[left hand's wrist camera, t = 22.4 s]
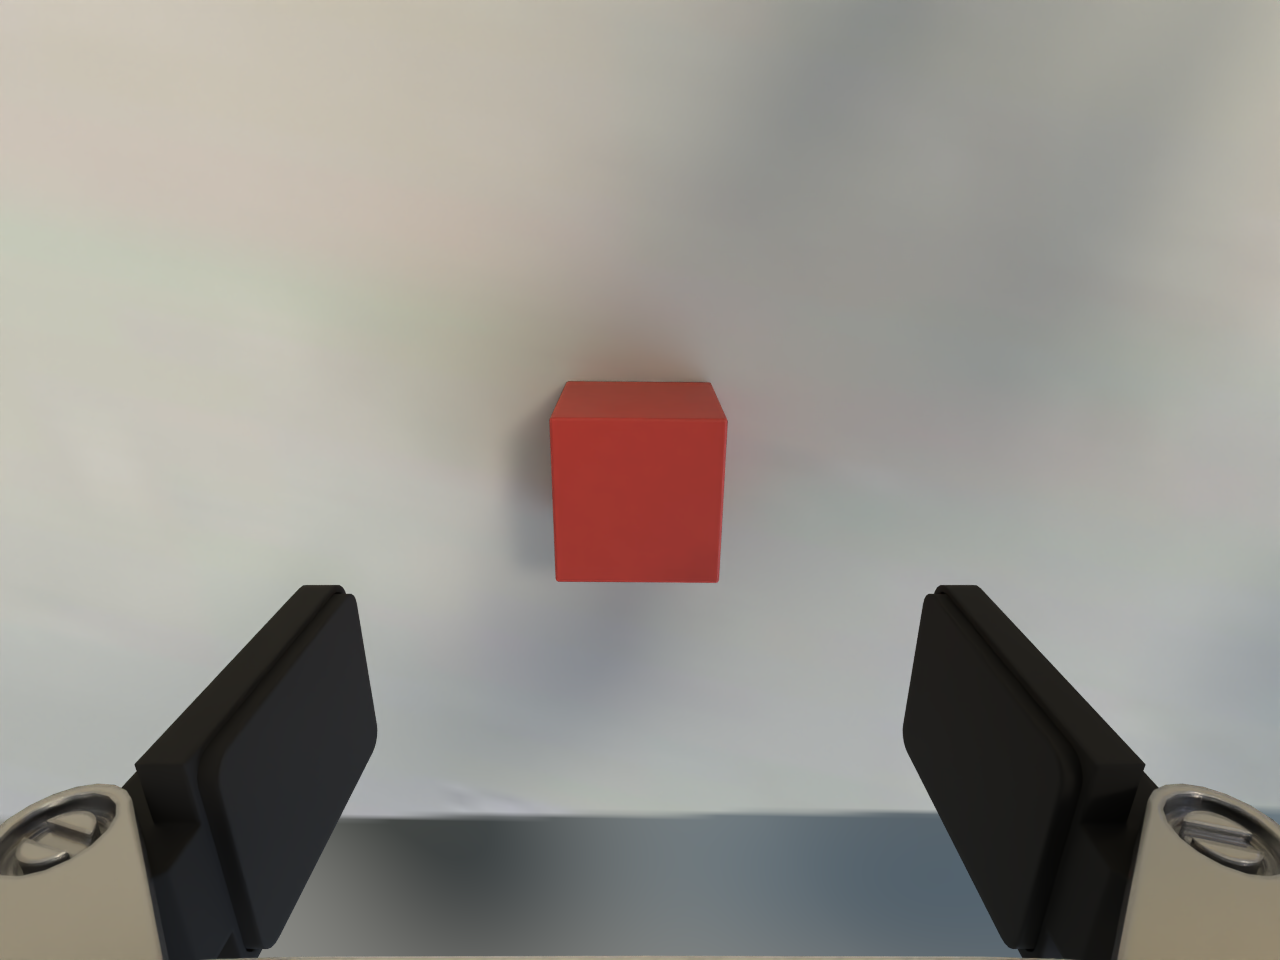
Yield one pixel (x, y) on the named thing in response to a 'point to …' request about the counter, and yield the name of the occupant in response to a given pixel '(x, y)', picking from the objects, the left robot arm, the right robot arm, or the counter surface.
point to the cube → (638, 482)
